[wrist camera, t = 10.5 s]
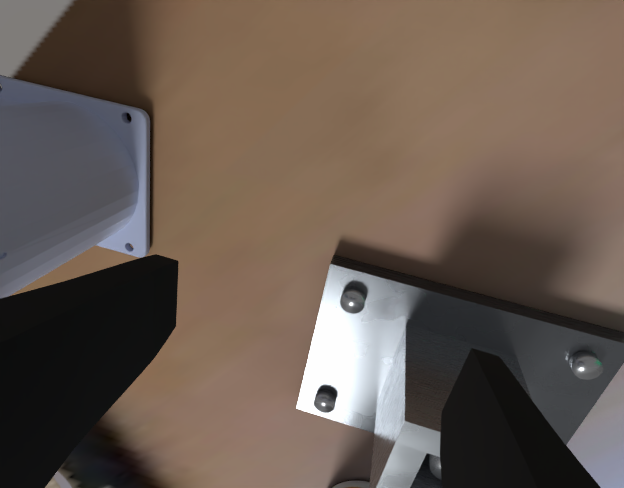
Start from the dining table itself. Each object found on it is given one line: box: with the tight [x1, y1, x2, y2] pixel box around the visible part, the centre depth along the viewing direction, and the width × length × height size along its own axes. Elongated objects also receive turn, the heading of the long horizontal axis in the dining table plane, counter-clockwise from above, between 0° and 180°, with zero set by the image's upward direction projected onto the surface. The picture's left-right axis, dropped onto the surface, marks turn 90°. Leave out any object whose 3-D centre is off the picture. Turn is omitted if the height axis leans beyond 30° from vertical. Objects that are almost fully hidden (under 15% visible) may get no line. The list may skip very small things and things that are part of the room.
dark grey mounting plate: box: [296, 255, 624, 480], centre depth 19 cm, size 14×10×6 cm
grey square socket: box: [369, 325, 532, 488], centre depth 18 cm, size 5×5×6 cm
